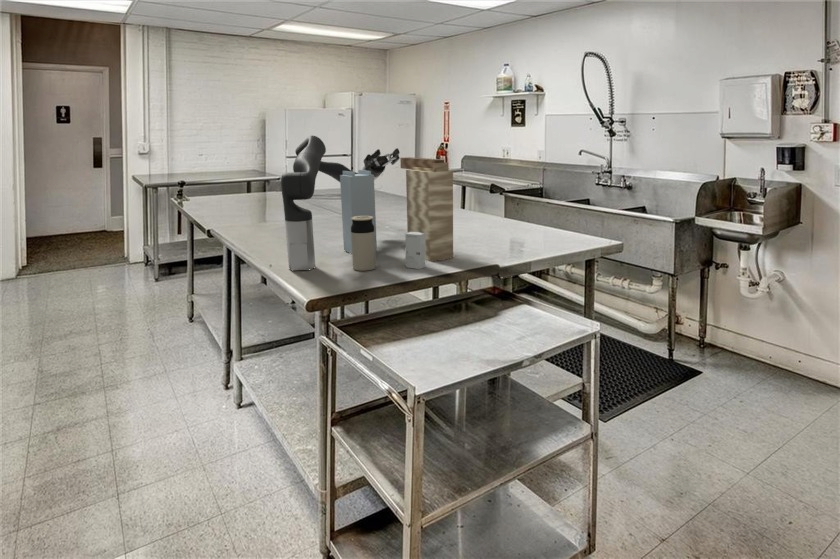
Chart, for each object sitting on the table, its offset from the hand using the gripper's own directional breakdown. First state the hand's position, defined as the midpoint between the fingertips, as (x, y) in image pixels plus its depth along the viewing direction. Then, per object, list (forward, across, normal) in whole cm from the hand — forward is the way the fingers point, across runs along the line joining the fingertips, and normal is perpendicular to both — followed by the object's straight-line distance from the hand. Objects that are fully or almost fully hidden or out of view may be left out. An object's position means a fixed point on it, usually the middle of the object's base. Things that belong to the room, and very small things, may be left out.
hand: (388, 150), depth 223 cm
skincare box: (+15, -13, +52) cm, 56 cm away
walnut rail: (+16, +1, +16) cm, 23 cm away
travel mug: (+7, -28, +48) cm, 56 cm away
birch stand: (+5, +1, +47) cm, 47 cm away
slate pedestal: (-15, -17, +35) cm, 42 cm away
